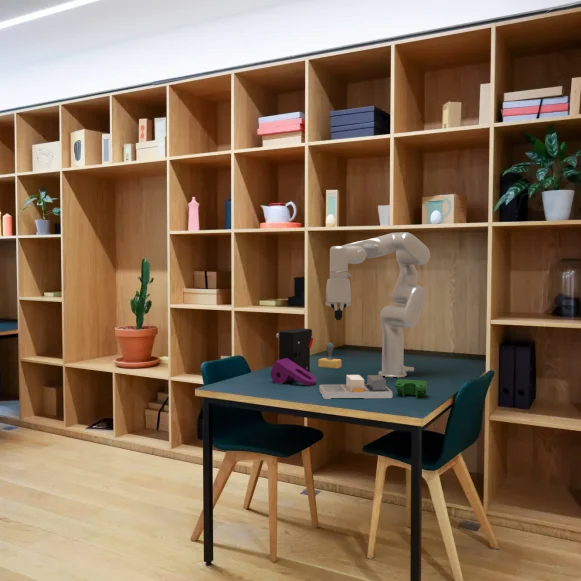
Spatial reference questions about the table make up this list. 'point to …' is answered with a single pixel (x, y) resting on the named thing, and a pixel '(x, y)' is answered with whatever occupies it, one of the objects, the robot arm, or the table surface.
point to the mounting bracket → (290, 373)
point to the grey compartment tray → (358, 389)
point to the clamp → (411, 387)
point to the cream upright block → (354, 382)
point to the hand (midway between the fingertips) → (338, 319)
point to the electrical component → (296, 346)
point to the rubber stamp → (329, 359)
